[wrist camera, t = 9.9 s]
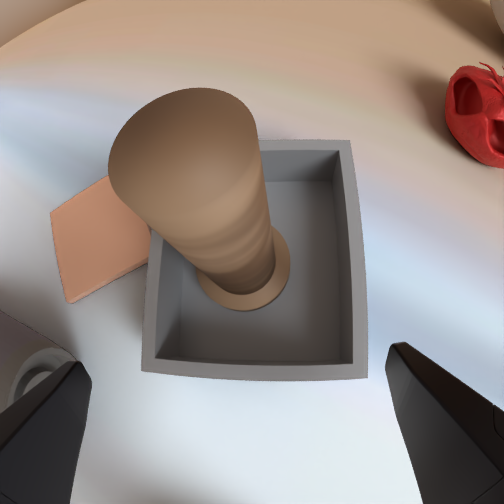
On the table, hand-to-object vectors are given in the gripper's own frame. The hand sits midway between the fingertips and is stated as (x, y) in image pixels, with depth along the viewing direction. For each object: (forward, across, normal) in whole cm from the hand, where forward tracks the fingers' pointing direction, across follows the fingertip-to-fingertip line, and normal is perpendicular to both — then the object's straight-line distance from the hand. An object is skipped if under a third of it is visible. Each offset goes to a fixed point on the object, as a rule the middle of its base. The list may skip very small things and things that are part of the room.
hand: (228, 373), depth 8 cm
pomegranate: (+20, -24, -5) cm, 31 cm away
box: (+13, -1, +4) cm, 14 cm away
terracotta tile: (+17, +12, +2) cm, 21 cm away
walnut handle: (+12, 0, +4) cm, 13 cm away
